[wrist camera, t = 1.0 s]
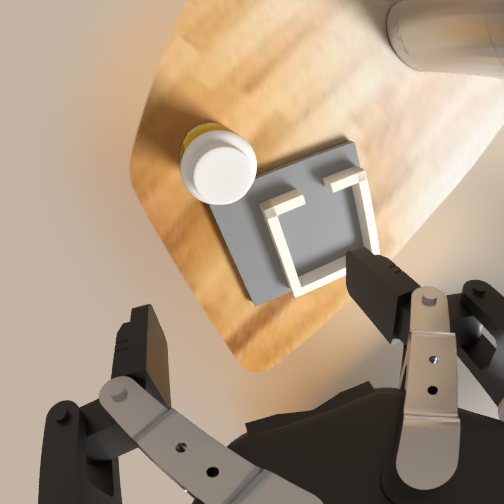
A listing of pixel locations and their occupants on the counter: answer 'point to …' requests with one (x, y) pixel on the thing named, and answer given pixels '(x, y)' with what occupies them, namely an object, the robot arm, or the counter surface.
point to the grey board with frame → (300, 223)
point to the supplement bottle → (216, 164)
